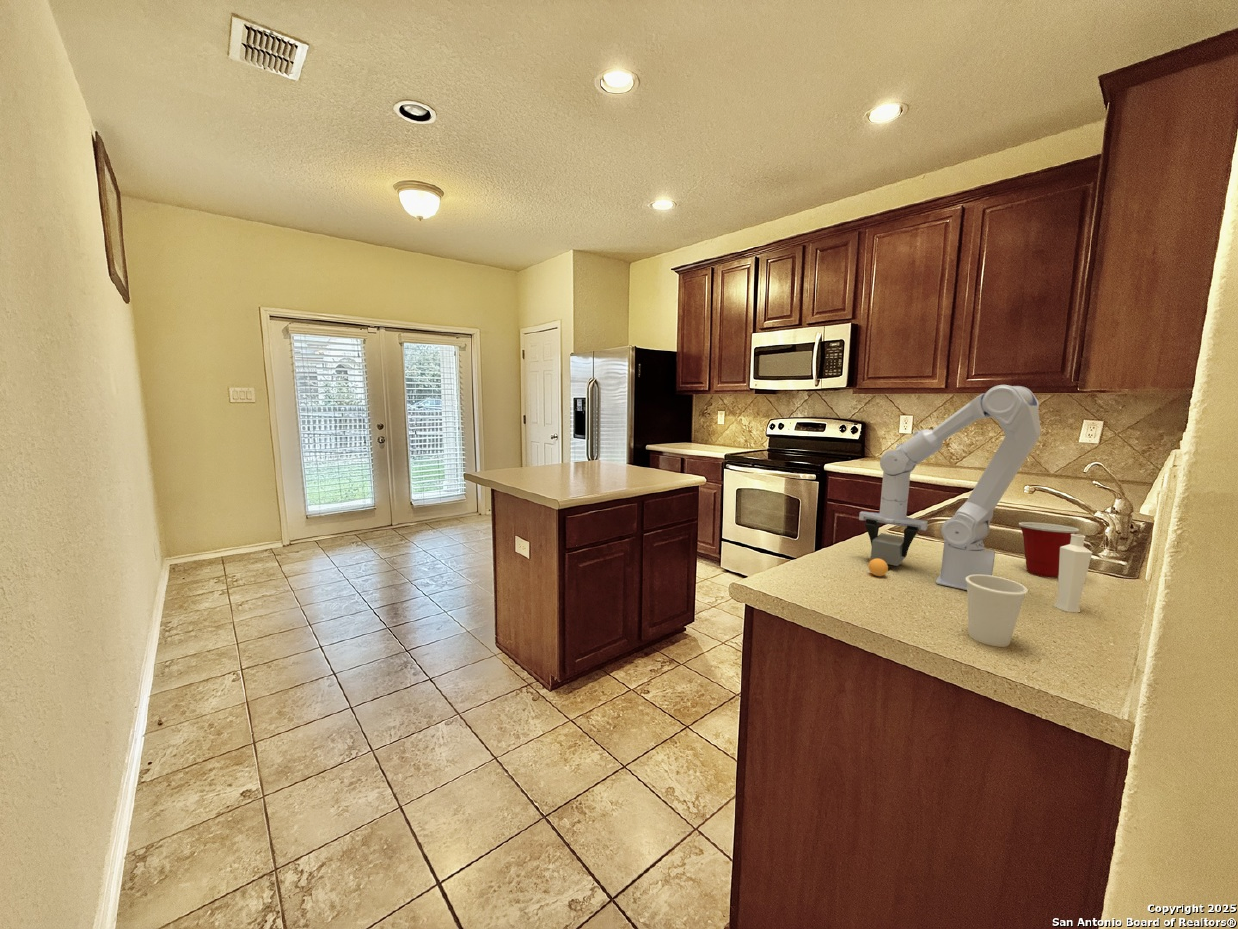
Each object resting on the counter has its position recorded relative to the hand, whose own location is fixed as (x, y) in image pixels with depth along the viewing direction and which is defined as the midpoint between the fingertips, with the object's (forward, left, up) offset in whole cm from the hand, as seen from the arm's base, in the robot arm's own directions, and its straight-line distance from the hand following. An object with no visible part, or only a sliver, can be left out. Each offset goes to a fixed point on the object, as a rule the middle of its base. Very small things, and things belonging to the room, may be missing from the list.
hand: (889, 552), depth 120 cm
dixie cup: (-22, +31, -3) cm, 38 cm away
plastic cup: (-29, -18, -3) cm, 35 cm away
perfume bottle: (-33, +5, -3) cm, 33 cm away
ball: (0, +11, -1) cm, 11 cm away
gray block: (0, 0, -1) cm, 1 cm away
